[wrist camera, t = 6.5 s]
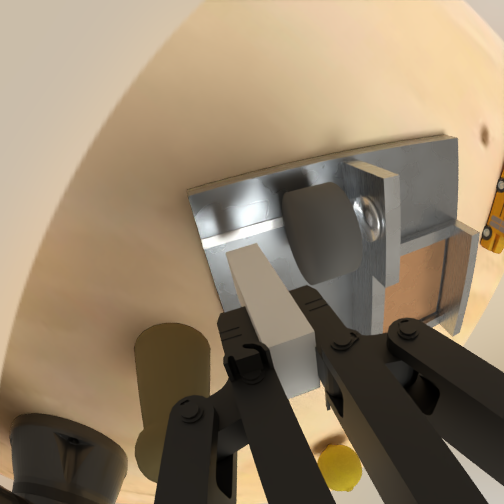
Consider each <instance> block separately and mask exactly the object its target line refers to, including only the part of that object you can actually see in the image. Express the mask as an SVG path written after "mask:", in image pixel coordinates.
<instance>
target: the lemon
mask: <svg viewBox="0 0 504 504" xmlns="http://www.w3.org/2000/svg"><path fill="white" fill-rule="evenodd" d="M317 464H318V467H319V469H320V471H321V473H322V475H323V477H324V479H325V481H326V484H327V486H328V487H329V488H330V489H332V490H335V491H347V492H349V491H351V490H353V487H354V486H355V485H356V484H357V483H358V482H359V480H360V478H361V476H362V467H361V462H360V460H359V457H358V456H357V454H356V453H355V452H354V451H353V450H352V449H351V448H349V447H347V446H344V445H332V444H329V445H328V446H327V447H326V450H324V451H323V452H322V453H321V455H320V457H319V459H318V463H317Z"/></svg>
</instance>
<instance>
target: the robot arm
mask: <svg viewBox="0 0 504 504" xmlns="http://www.w3.org/2000/svg"><path fill="white" fill-rule="evenodd" d="M225 253H226V257H227V260H228V264H229V268H230V271H231V275H232V278H233V282H234V285H235V289H236V292H237V296H238V299H239V302H240V305H241V307H240V308H237V309H234V310H231V311H228V312H224V313H221V314H220V316H219V319H218V322H217V326H218V330H219V333H220V337H221V341H222V345H223V349H224V353H225V356H224V359H223V364H224V367H225V369H226V372H227V374H228V376H229V378H228V381H227V382H226V384H225V385H224V386H223V388H222V389H220V390H219V391H218V392H216V393H215V394H213V395H211V396H210V397H208V398H206V397H203V396H200V395H191V396H187V397H184V398H183V399H181V400H179V401H178V402H177V403H176V404H175V405H174V406H173V407H172V409H171V412H170V414H169V420H168V425H167V430H166V436H165V441H164V447H163V452H162V458H161V464H160V470H159V476H158V482H157V488H156V494H155V501H154V504H236V492H237V451H238V450H240V449H241V448H243V447H244V446H246V445H247V444H249V446H250V449H251V452H252V455H253V458H254V462H255V465H256V468H257V471H258V474H259V477H260V480H261V483H262V486H263V489H264V492H265V495H266V498H267V501H268V504H336V503H335V500H334V499H333V496H332V494H331V492H330V490H329V488H328V486H327V484H326V481H325V479H324V477H323V475H322V473H321V471H320V469H319V467H318V464H317V462H316V460H315V458H314V456H313V454H312V451H311V449H310V447H309V445H308V443H307V440H306V438H305V436H304V434H303V432H302V429H301V427H300V425H299V423H298V421H297V418H296V416H295V414H294V412H293V409H292V407H291V405H290V403H289V400H288V399H290V398H293V397H295V396H298V395H301V394H304V393H306V392H309V391H311V390H314V389H317V388H319V387H320V380H321V382H322V384H323V385H324V387H325V397H326V407H327V411H328V410H330V406H331V408H332V410H333V411H334V413H335V415H336V417H337V419H338V420H339V422H340V424H341V426H342V428H343V429H344V431H345V433H346V435H347V437H348V439H349V440H350V442H351V444H352V446H353V448H354V449H355V451H356V453H357V455H358V457H359V458H360V460H361V462H362V464H363V466H364V467H365V469H366V471H367V473H368V475H369V477H370V478H371V480H372V482H373V484H374V485H375V487H376V489H377V491H378V493H379V495H380V496H381V498H382V500H383V502H384V503H385V504H488V502H487V501H486V499H485V498H484V497H483V495H482V494H481V492H480V491H479V489H478V488H477V486H476V485H475V484H474V482H473V481H472V480H471V478H470V477H469V475H468V474H467V472H466V471H465V470H464V468H463V467H462V466H461V464H460V463H459V461H458V460H457V459H456V457H455V456H454V454H453V453H452V452H451V450H450V449H449V448H448V446H447V445H446V443H445V442H444V441H443V440H442V438H443V439H444V440H445V441H446V442H448V443H449V444H450V445H451V446H453V447H454V448H455V449H457V450H458V451H459V452H460V453H462V454H463V455H464V456H465V457H467V458H468V459H469V460H470V461H472V462H473V463H475V464H476V465H477V466H478V467H479V468H481V469H482V470H483V471H485V472H486V473H487V474H489V475H490V476H491V477H492V478H494V479H495V480H496V481H498V482H499V483H500V484H502V485H503V486H504V373H503V372H502V371H500V370H499V369H497V368H496V367H494V366H492V365H491V364H489V363H488V362H486V361H485V360H483V359H481V358H480V357H478V356H477V355H475V354H473V353H472V352H470V351H469V350H467V349H465V348H464V347H462V346H461V345H459V344H457V343H456V342H454V341H453V340H451V339H449V338H448V337H446V336H444V335H443V334H441V333H440V332H438V331H436V330H435V329H433V328H431V327H430V326H428V325H426V324H425V323H423V322H422V321H420V320H417V319H415V318H407V317H406V318H401V319H398V320H396V321H394V322H392V324H391V325H390V326H389V328H388V333H382V334H376V335H361V334H360V333H359V332H358V331H356V330H353V329H350V328H347V327H346V326H345V325H344V324H343V322H342V321H341V320H340V319H339V317H338V316H337V315H336V313H335V312H334V311H333V310H332V308H331V307H330V306H329V305H328V303H327V302H326V301H325V299H323V297H322V296H321V294H320V293H319V292H318V291H317V290H316V289H314V288H312V287H310V286H308V285H305V286H302V287H299V288H296V289H293V290H290V291H288V290H287V288H286V287H285V285H284V284H283V282H282V281H281V279H280V278H279V276H278V275H277V273H276V271H275V270H274V268H273V267H272V265H271V264H270V262H269V261H268V259H267V258H266V256H265V255H264V253H263V252H262V250H261V249H260V247H259V246H258V244H257V243H255V244H251V245H248V246H245V247H241V248H238V249H235V250H232V251H228V252H225ZM9 438H10V444H11V446H12V463H13V473H14V483H13V490H12V492H11V491H9V490H7V489H5V488H4V487H2V486H1V485H0V504H115V502H116V499H117V497H118V494H119V492H120V489H121V486H122V483H123V480H124V478H125V477H126V474H127V469H128V460H127V456H126V454H125V452H124V451H123V449H122V448H121V447H120V446H119V445H118V444H117V443H115V442H114V441H113V440H111V439H110V438H108V437H107V436H105V435H103V434H102V433H100V432H98V431H96V430H94V429H92V428H90V427H87V426H85V425H82V424H80V423H77V422H74V421H71V420H68V419H65V418H61V417H57V416H52V415H47V414H37V413H31V414H23V415H20V416H18V417H16V418H15V419H14V420H13V422H12V426H11V429H10V434H9Z"/></svg>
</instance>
